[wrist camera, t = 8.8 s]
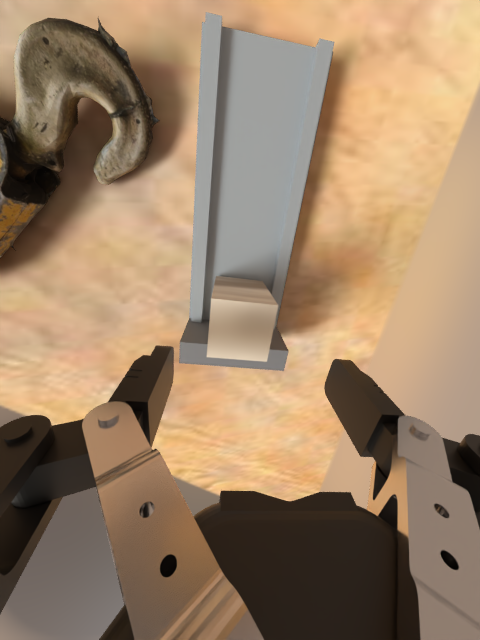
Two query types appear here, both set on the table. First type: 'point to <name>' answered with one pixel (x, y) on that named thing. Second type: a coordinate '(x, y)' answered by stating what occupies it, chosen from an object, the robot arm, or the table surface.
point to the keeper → (241, 319)
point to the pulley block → (65, 115)
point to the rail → (250, 169)
